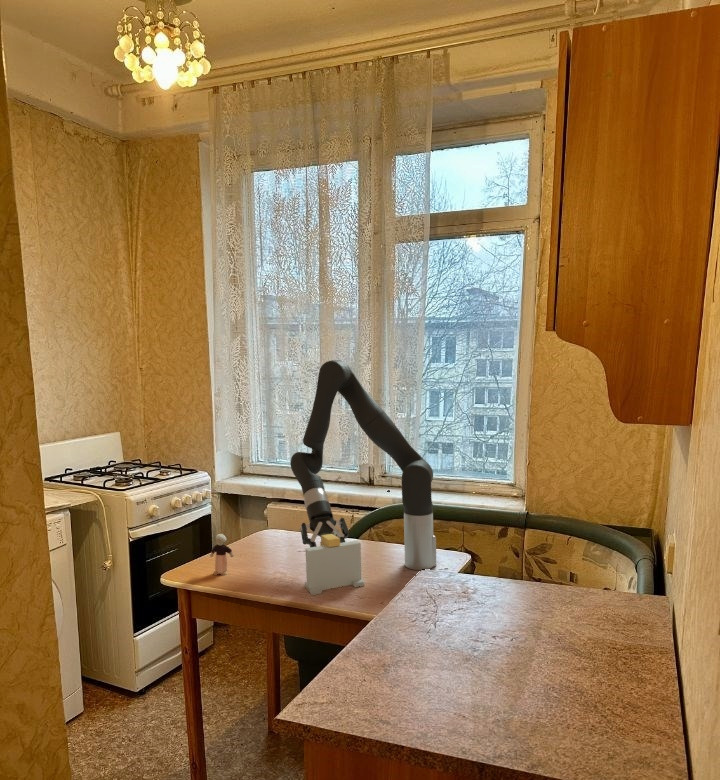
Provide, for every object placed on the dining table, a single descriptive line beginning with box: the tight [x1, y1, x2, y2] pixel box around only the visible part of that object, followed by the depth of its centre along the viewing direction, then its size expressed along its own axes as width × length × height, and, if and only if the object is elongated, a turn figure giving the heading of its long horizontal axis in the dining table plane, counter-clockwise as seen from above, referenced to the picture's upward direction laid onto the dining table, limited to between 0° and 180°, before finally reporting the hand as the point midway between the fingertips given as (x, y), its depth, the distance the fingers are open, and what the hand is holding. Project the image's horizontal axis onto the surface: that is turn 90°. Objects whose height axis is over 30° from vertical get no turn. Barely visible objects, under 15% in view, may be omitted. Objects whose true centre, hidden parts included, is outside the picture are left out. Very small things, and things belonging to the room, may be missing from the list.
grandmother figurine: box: [209, 533, 235, 576], centre depth 175 cm, size 8×4×13 cm, turn 92°
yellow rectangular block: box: [319, 534, 340, 547], centre depth 165 cm, size 4×8×12 cm, turn 21°
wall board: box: [304, 540, 365, 596], centre depth 164 cm, size 16×7×12 cm, turn 112°
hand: (330, 553), depth 166 cm, fingers open, 8 cm apart
